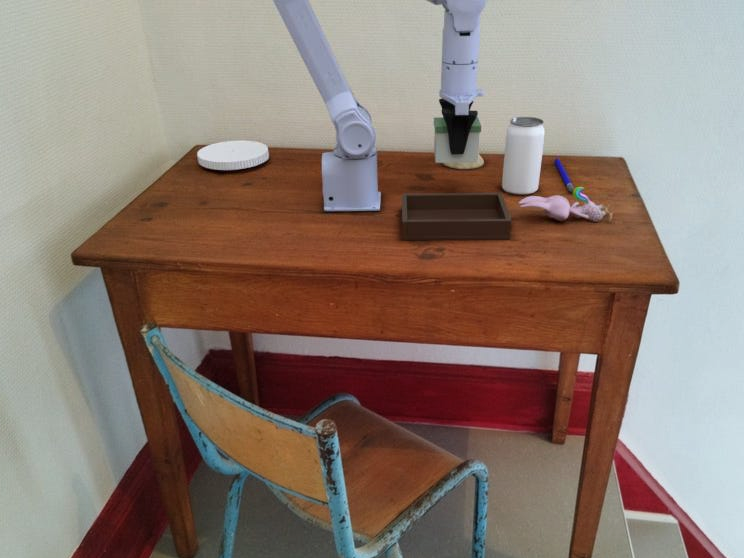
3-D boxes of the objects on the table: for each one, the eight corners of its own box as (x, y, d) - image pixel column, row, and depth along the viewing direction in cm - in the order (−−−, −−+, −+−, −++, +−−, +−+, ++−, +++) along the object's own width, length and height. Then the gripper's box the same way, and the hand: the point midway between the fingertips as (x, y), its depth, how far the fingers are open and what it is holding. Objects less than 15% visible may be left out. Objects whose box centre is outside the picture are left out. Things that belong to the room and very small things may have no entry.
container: (434, 163, 110) (435, 126, 106) (432, 153, 114) (433, 117, 111) (479, 162, 109) (481, 126, 106) (475, 152, 114) (477, 116, 110)
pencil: (573, 193, 116) (574, 187, 116) (568, 193, 117) (569, 187, 116) (558, 161, 130) (558, 156, 130) (553, 161, 130) (554, 156, 130)
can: (537, 196, 116) (546, 127, 109) (500, 194, 117) (506, 125, 110) (538, 184, 121) (546, 116, 114) (502, 182, 122) (508, 115, 115)
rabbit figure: (599, 219, 111) (512, 207, 109) (611, 184, 107) (522, 172, 106) (610, 234, 106) (520, 222, 104) (623, 199, 102) (530, 186, 101)
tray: (402, 240, 102) (402, 221, 100) (401, 211, 111) (401, 193, 110) (509, 239, 101) (511, 220, 100) (500, 210, 111) (501, 192, 109)
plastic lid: (245, 148, 141) (243, 136, 140) (283, 163, 133) (281, 150, 131) (186, 163, 134) (184, 151, 132) (222, 180, 125) (220, 167, 124)
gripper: (491, 70, 97) (484, 162, 105) (480, 52, 109) (475, 135, 117) (443, 71, 97) (440, 162, 105) (437, 52, 109) (435, 135, 117)
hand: (455, 148), depth 111 cm, fingers closed on container, 5 cm apart
